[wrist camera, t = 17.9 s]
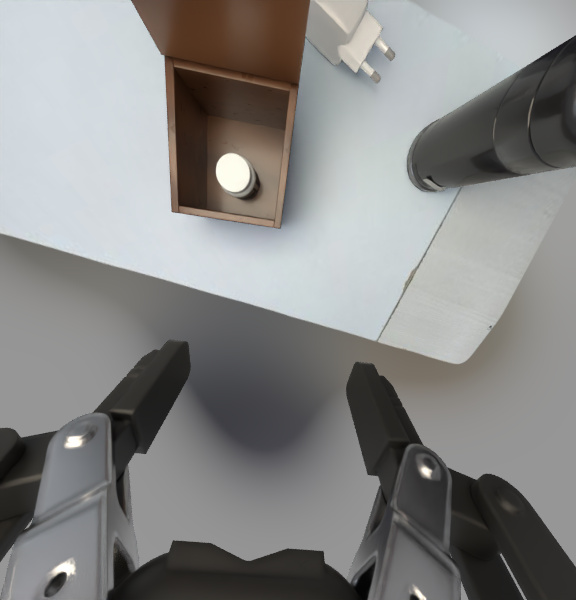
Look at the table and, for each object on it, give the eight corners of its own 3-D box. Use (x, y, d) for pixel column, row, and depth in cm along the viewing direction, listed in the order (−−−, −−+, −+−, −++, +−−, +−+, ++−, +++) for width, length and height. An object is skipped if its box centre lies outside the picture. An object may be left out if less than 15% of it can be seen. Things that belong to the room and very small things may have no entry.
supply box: (280, 225, 35) (280, 228, 25) (203, 213, 34) (171, 211, 24) (292, 126, 31) (299, 82, 20) (203, 109, 29) (164, 53, 19)
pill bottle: (232, 160, 31) (216, 141, 23) (263, 172, 32) (258, 157, 24) (225, 194, 33) (208, 187, 25) (255, 205, 33) (247, 201, 26)
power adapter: (387, 66, 28) (412, 30, 23) (363, 104, 30) (382, 78, 24) (321, -3, 26) (332, -62, 20) (299, 41, 27) (303, -3, 22)
